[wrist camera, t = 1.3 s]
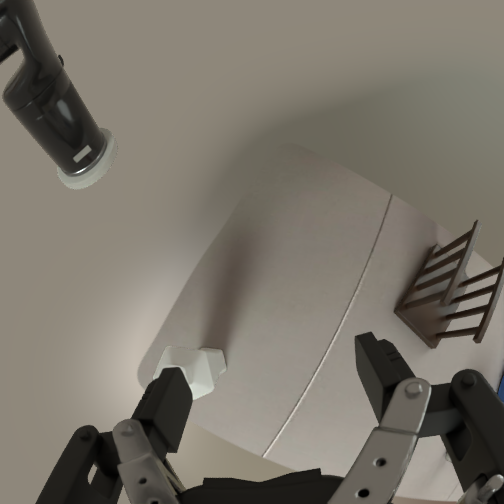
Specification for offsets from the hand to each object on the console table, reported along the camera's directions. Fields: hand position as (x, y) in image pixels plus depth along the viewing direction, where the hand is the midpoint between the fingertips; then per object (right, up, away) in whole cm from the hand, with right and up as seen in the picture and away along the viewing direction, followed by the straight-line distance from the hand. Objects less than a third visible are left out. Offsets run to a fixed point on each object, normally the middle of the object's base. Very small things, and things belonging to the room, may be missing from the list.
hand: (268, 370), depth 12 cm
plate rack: (+24, -1, +20) cm, 31 cm away
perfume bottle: (-6, -7, +18) cm, 20 cm away
